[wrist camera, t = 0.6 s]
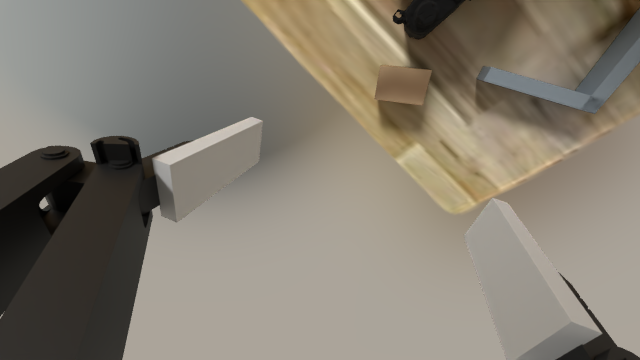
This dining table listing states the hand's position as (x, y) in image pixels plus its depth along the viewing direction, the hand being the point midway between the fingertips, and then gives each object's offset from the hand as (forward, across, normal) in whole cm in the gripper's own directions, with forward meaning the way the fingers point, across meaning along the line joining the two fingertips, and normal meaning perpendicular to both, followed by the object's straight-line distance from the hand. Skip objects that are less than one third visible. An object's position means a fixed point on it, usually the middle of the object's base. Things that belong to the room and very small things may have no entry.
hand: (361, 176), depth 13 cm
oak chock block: (+25, +1, +3) cm, 25 cm away
